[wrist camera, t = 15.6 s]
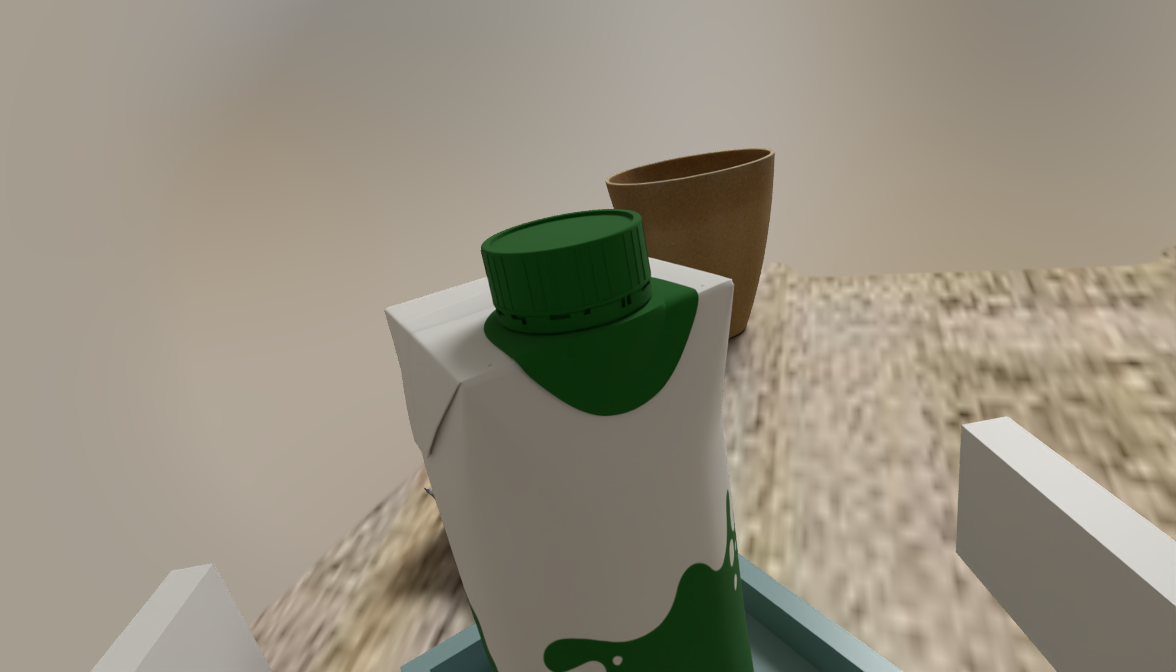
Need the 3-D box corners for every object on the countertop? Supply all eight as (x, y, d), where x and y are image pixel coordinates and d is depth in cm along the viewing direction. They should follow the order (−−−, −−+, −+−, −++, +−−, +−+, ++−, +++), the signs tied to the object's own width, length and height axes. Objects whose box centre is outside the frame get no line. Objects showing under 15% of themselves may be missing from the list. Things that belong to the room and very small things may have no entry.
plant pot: (800, 301, 63) (792, 139, 57) (762, 366, 51) (746, 171, 45) (665, 300, 70) (645, 157, 65) (605, 356, 59) (574, 188, 53)
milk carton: (595, 923, 19) (407, 303, 11) (490, 700, 26) (337, 244, 19) (804, 750, 22) (764, 191, 15) (658, 598, 30) (583, 180, 22)
